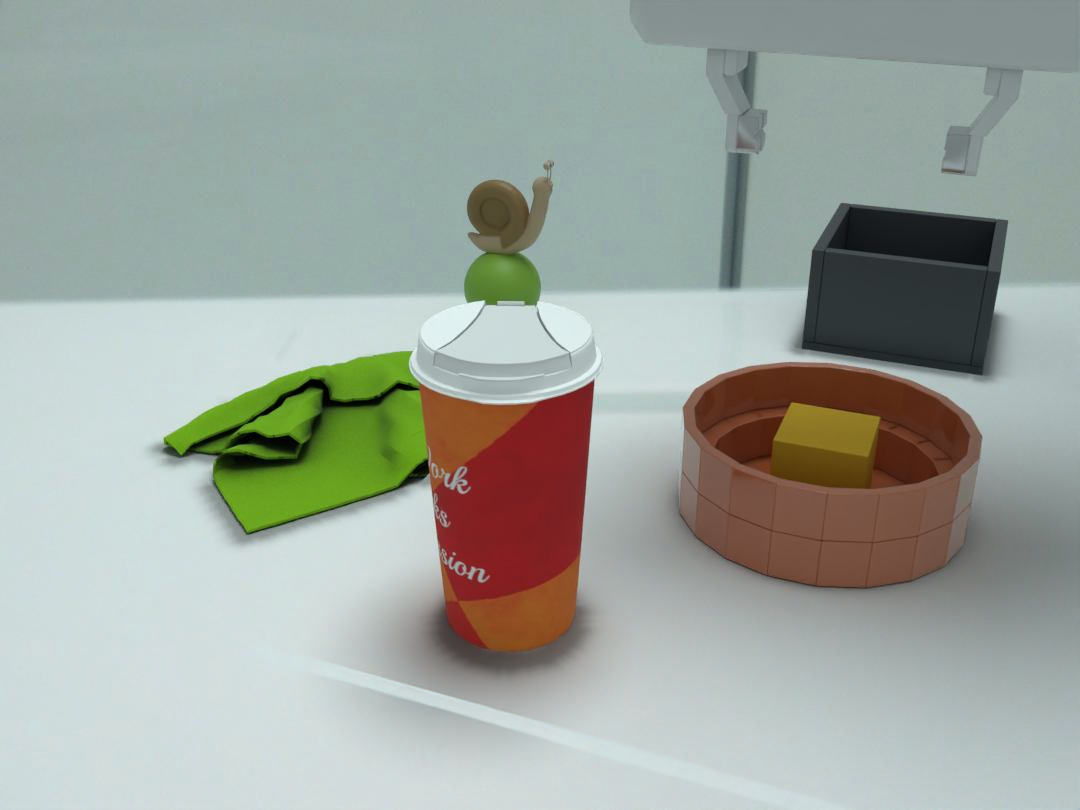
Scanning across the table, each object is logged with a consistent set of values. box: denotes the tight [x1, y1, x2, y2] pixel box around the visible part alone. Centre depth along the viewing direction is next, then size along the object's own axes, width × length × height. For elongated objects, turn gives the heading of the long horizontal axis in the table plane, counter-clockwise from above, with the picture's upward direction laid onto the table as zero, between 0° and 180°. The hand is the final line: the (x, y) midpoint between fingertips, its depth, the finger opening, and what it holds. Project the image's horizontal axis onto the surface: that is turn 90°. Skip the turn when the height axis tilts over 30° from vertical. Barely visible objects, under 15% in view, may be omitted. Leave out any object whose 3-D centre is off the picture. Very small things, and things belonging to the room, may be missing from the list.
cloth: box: [163, 350, 430, 534], centre depth 67 cm, size 20×22×2 cm
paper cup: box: [409, 300, 605, 652], centre depth 48 cm, size 8×8×14 cm
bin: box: [801, 202, 1009, 376], centre depth 80 cm, size 12×12×7 cm
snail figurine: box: [463, 159, 555, 308], centre depth 80 cm, size 5×6×12 cm
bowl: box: [677, 361, 984, 588], centre depth 58 cm, size 14×14×6 cm
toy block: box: [770, 402, 881, 489], centre depth 58 cm, size 4×4×4 cm
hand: (848, 161), depth 52 cm, fingers open, 8 cm apart
